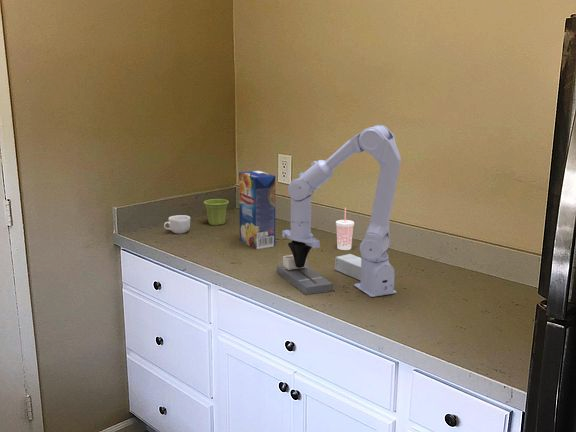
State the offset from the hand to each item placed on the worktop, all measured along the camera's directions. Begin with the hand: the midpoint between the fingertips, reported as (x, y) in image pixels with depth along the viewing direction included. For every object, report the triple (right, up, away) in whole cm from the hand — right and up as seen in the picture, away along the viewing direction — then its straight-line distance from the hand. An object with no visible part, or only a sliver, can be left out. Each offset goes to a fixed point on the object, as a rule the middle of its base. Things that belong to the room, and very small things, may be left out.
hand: (300, 266), depth 174 cm
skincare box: (+13, +1, +9) cm, 16 cm away
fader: (-1, 0, +3) cm, 4 cm away
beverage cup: (+15, +4, +30) cm, 34 cm away
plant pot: (-31, +11, +60) cm, 69 cm away
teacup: (-44, +8, +48) cm, 65 cm away
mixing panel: (+1, -4, -1) cm, 4 cm away
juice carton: (-14, +5, +35) cm, 38 cm away
